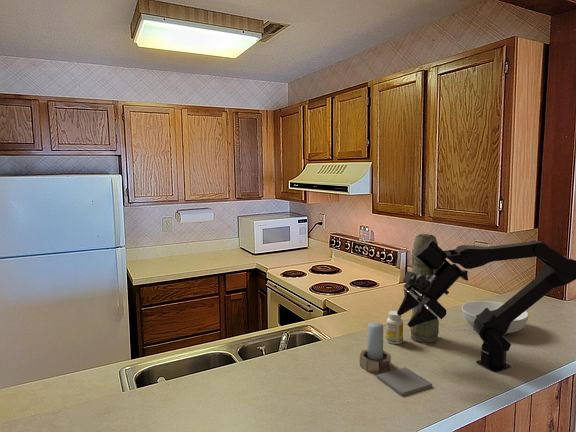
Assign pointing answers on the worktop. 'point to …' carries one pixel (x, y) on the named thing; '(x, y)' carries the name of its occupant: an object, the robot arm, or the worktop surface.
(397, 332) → the supplement bottle
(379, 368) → the bronze collar
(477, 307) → the serving bowl
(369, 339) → the slate peg
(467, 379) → the worktop surface
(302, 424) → the worktop surface
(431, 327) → the thermos
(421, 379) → the gray base plate
